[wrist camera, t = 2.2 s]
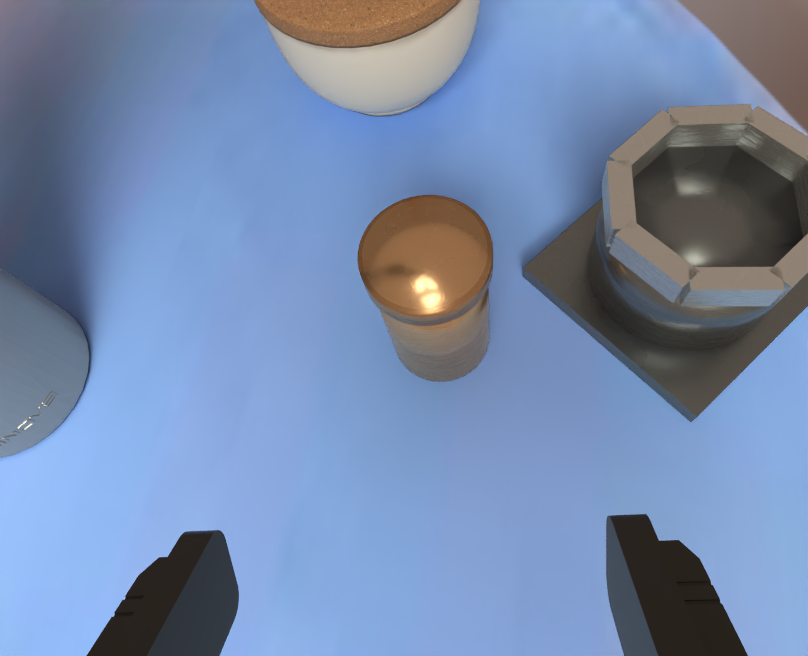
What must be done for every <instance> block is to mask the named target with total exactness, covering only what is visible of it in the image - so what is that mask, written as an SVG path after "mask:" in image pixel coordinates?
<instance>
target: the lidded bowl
mask: <svg viewBox="0 0 808 656" xmlns="http://www.w3.org/2000/svg"><path fill="white" fill-rule="evenodd" d="M254 1H255V3H256V5H257V7H258V8H259V10H260V12H261V14H262V15H263V17H264V20H265V23H266V25H267V27H268V29H269V31H270V34H271V36H272V38H273V40H274V41H275V43H276V45H277V46H278V48H279V50H280V52H281V53H282V55H283V57H284V59H285V60H286V62H287V63H288V65H289V66H290V67H291V69H292V70H293V71H294V73H295V74H296V75H297V76H298V77H299V78H300V80H301V81H302V82H303V83H304V84H305V85H306V86H307V87H309V88H310V89H311V90H312V91H313V92H315V93H316V94H317V95H319V96H320V97H321V98H323V99H325V100H327V101H329V102H331V103H333V104H335V105H337V106H339V107H342V108H345V109H348V110H352V111H357V112H360V113H363V114H367V115H372V116H389V115H395V114H400V113H403V112H406V111H409V110H411V109H413V108H415V107H417V106H418V105H420V104H421V103H423V102H424V101H425V100H426V99H428V98H429V97H430V96H431V95H432V94H434V93H435V92H436V91H437V90H439V89H440V88H441V87H442V86H443V85H444V84H445V83H446V82H447V81H448V80H449V79H450V77H451V76H452V75H453V74H454V73H455V71H456V70H457V69H458V67H459V66H460V64H461V62H462V61H463V59H464V57H465V55H466V53H467V51H468V48H469V46H470V43H471V41H472V38H473V35H474V31H475V27H476V23H477V19H478V12H479V6H480V0H254Z"/></svg>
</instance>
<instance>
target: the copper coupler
mask: <svg viewBox="0 0 808 656" xmlns="http://www.w3.org/2000/svg"><path fill="white" fill-rule="evenodd" d="M358 267H359V271H360V275H361V277H362V280H363V282H364V285H365V287H366V289H367V292H368V294H369V296H370V298H371V299H372V301H373V302H374V303H375V305H376V306H377V307H378V308H379V309H380V312H381V314H382V317H383V319H384V322H385V324H386V327H387V329H388V332H389V334H390V337H391V339H392V342H393V344H394V347H395V349H396V352H397V354H398V357H399V359H400V360H401V362H402V363H403V364H404V366H405V367H406V368H407V369H408V370H409V371H410V372H412V373H413V374H415V375H417V376H419V377H421V378H423V379H426V380H430V381H438V382H443V381H451V380H455V379H458V378H460V377H463V376H465V375H466V374H468V373H470V372H471V371H472V370H473V369H475V368H476V367H477V366H478V365H479V363H480V362H481V361H482V359H483V357H484V356H485V354H486V351H487V348H488V344H489V297H488V286H489V283H490V281H491V277H492V270H493V247H492V240H491V236H490V233H489V231H488V228H487V226H486V225H485V223H484V221H483V220H482V219H481V218H480V216H479V215H478V214H477V213H476V212H475V211H474V210H472V209H471V208H470V207H468V206H467V205H465V204H463V203H461V202H459V201H457V200H454V199H452V198H448V197H444V196H437V195H422V196H415V197H410V198H407V199H404V200H401V201H399V202H396V203H394V204H392V205H391V206H389V207H387V208H386V209H385V210H383V211H382V212H381V213H379V214H378V215H377V216H376V217H375V218H374V219H373V220H372V222H371V223H370V224H369V226H368V227H367V229H366V230H365V232H364V234H363V236H362V238H361V242H360V245H359V250H358Z"/></svg>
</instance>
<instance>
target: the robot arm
mask: <svg viewBox="0 0 808 656" xmlns="http://www.w3.org/2000/svg"><path fill="white" fill-rule="evenodd" d="M88 366H89V350H88V342H87V340H86V337H85V334H84V332H83V329H82V328H81V326H80V325H79V324H78V322H77V321H76V319H75V318H74V317H72V316H71V315H70V314H68V313H67V312H66V311H65V310H63V309H62V308H60V307H59V306H57V305H56V304H54V303H53V302H51V301H50V300H48V299H47V298H45V297H44V296H42V295H41V294H39V293H38V292H36V291H35V290H33V289H32V288H30V287H29V286H27V285H26V284H24V283H23V282H22V281H20V280H19V279H17V278H16V277H14V276H13V275H11V274H10V273H8V272H7V271H5V270H4V269H2V268H1V267H0V458H2V457H6V456H11V455H15V454H17V453H19V452H22V451H24V450H26V449H28V448H31V447H32V446H34V445H35V444H37V443H38V442H40V441H41V440H43V439H44V438H46V437H47V436H48V435H50V434H51V433H52V432H53V431H54V430H55V429H56V428H57V427H58V426H59V425H60V424H61V423H62V422H63V421H64V419H65V418H66V417H67V415H68V414H69V413H70V411H71V410H72V409H73V408H74V406H75V404H76V402H77V400H78V398H79V396H80V394H81V392H82V390H83V387H84V384H85V381H86V377H87V374H88ZM606 574H607V589H608V596H609V602H610V607H611V611H612V614H613V618H614V621H615V625H616V628H617V632H618V635H619V639H620V642H621V646H622V650H623V653H624V656H748V655H747V653H746V651H745V649H744V647H743V645H742V643H741V641H740V639H739V637H738V635H737V633H736V631H735V629H734V627H733V625H732V623H731V621H730V619H729V617H728V615H727V613H726V611H725V609H724V607H723V605H722V604H721V603H720V599H719V597H718V595H717V593H716V591H715V589H714V587H713V585H711V581H710V579H709V577H708V575H707V573H706V571H705V569H704V567H703V565H702V563H701V561H700V559H699V558H698V557H697V556H696V555H695V554H694V553H693V552H691V551H690V550H689V549H688V548H687V547H686V546H685V545H684V544H683V543H681V542H680V541H679V540H671V541H659V540H658V538H657V535H656V533H655V531H654V528H653V526H652V524H651V521H650V519H649V517H648V516H647V515H646V514H638V515H614V516H608V517H607V524H606ZM125 597H126V598H125V600H122V602H121V603H120V605H119V607H118V608H117V610H116V611H115V616H114V617H111V619H110V620H109V622H108V624H107V625H106V627H105V628H104V630H103V631H102V633H101V634H100V636H99V637H98V639H97V641H96V642H95V644H94V645H93V647H92V648H91V650H90V651H89V653H88V654H87V656H219V655H220V653H221V651H222V648H223V646H224V643H225V641H226V639H227V636H228V634H229V631H230V629H231V627H232V624H233V622H234V619H235V617H236V613H237V609H238V601H239V592H238V585H237V581H236V577H235V573H234V570H233V566H232V562H231V558H230V555H229V551H228V547H227V543H226V539H225V536H224V534H223V533H222V532H221V531H219V530H214V531H189V532H184V533H183V534H182V535H181V536H180V538H179V539H178V541H177V543H176V544H175V546H174V548H173V549H172V551H171V552H170V554H169V556H168V557H159V558H158V559H157V560H156V561H155V562H153V563H152V564H151V565H150V566H149V567H148V568H147V569H145V570H144V571H143V572H142V573H141V574H140V575H139V576H138V577H137V579H136V580H135V582H134V583H133V585H132V586H131V588H130V590H129V591H128V593H127V594H126V596H125Z"/></svg>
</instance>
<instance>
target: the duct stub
mask: <svg viewBox="0 0 808 656" xmlns="http://www.w3.org/2000/svg"><path fill="white" fill-rule="evenodd" d="M602 197H603V198H602V199H600V200H599V201H598V202H597V203H596V204H595V205H594V206H593V207H591V208H590V209H589V210H588V211H587V212H586V213H585V214H583V215H582V216H581V217H580V218H579V219H578V220H577V221H576V222H574V223H573V224H572V225H571V226H570V227H569V228H568V229H566V230H565V231H564V232H563V233H562V234H561V235H560V236H559V237H557V238H556V239H555V240H554V241H553V242H552V243H551V244H549V245H548V246H547V247H546V248H545V249H544V250H543V251H542V252H540V253H539V254H538V255H537V256H536V257H535V258H534V259H532V260H531V261H530V262H529V263H528V264H527V265H526V266H525V267H524V268H523V277H524V278H525V279H527V280H528V281H529V282H530V283H531V284H532V285H534V286H535V287H536V288H537V289H538V290H539V291H540V292H542V293H543V294H544V295H545V296H546V297H547V298H548V299H550V300H551V301H552V302H553V303H554V304H555V305H557V306H558V307H559V308H560V309H561V310H562V311H563V312H565V313H566V314H567V315H568V316H569V317H570V318H572V319H573V320H574V321H575V322H576V323H577V324H578V325H580V326H581V327H582V328H583V329H584V330H585V331H587V332H588V333H589V334H590V335H591V336H592V337H593V338H595V339H596V340H597V341H598V342H599V343H600V344H602V345H603V346H604V347H605V348H606V349H607V350H608V351H610V352H611V353H612V354H613V355H614V356H615V357H617V358H618V359H619V360H620V361H621V362H622V363H623V364H625V365H626V366H627V367H628V368H629V369H630V370H631V371H633V372H634V373H635V374H636V375H637V376H638V377H640V378H641V379H642V380H643V381H644V382H645V383H646V384H648V385H649V386H650V387H651V388H652V389H653V390H655V391H656V392H657V393H658V394H659V395H660V396H661V397H663V398H664V399H665V400H666V401H667V402H668V403H670V404H671V405H672V406H673V407H674V408H675V409H676V410H678V411H679V412H680V413H681V414H682V415H683V416H685V417H686V418H687V419H688V420H689V421H690V422H692V421H693V420H694V419H695V418H696V417H697V416H698V415H699V414H700V413H701V412H702V411H703V410H704V409H705V408H706V407H707V406H708V405H709V404H710V403H711V402H712V401H713V400H714V399H715V398H716V397H717V396H718V395H719V394H720V393H721V392H722V391H723V390H724V389H725V388H726V387H727V386H728V385H729V384H730V383H731V382H732V381H733V380H734V379H735V378H736V377H737V376H738V375H739V374H740V373H741V372H742V371H743V370H744V369H745V368H746V367H747V366H748V365H749V364H750V363H751V362H752V361H753V360H754V359H755V358H756V357H757V356H758V355H759V354H760V353H761V352H762V351H763V350H764V349H765V348H766V347H767V346H768V345H769V344H770V343H771V342H772V341H773V340H774V339H775V338H776V337H777V336H778V335H779V334H780V333H781V332H782V331H783V330H784V329H785V328H786V327H787V326H788V325H789V324H790V323H791V322H792V321H793V320H794V319H795V318H796V317H797V316H798V315H799V314H800V313H801V312H802V311H803V310H804V309H805V308H806V307H807V306H808V136H806V135H805V134H803V133H801V132H800V131H798V130H796V129H795V128H793V127H791V126H790V125H788V124H787V123H785V122H783V121H782V120H780V119H778V118H777V117H775V116H774V115H772V114H770V113H769V112H767V111H765V110H764V109H762V108H760V107H759V106H757V107H756V108H755V109H754V110H753V111H752V109H751V104H740V105H714V106H689V107H669V108H668V110H667V112H665V111H664V110H661V111H660V112H659V113H658V114H657V115H655V116H654V117H653V118H652V119H651V120H650V121H649V122H647V123H646V124H645V125H644V126H643V127H642V128H640V129H639V130H638V131H637V132H636V133H635V134H634V135H632V136H631V137H630V138H629V139H628V140H627V141H626V142H624V143H623V144H622V145H621V146H620V147H619V148H617V149H616V150H615V151H614V152H613V153H612V154H611V155H609V159H608V161H607V162H606V166H605V170H604V174H603V178H602Z"/></svg>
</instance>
